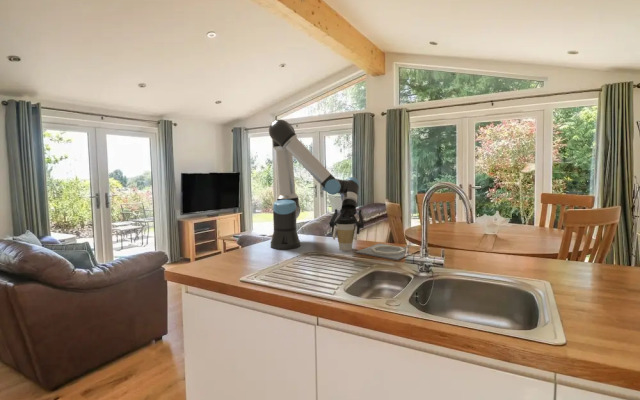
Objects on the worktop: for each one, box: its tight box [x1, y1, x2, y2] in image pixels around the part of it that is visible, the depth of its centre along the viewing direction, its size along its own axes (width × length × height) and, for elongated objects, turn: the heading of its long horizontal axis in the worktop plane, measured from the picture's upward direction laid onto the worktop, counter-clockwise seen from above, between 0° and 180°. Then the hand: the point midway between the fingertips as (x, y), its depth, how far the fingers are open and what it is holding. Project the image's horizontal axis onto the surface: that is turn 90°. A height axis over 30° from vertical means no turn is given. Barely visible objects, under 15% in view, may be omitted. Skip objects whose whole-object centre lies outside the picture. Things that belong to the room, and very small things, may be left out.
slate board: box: [355, 243, 407, 261], centre depth 166 cm, size 22×22×1 cm
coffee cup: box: [335, 217, 356, 252], centre depth 171 cm, size 10×10×15 cm
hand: (344, 238), depth 168 cm, fingers closed on coffee cup, 10 cm apart
